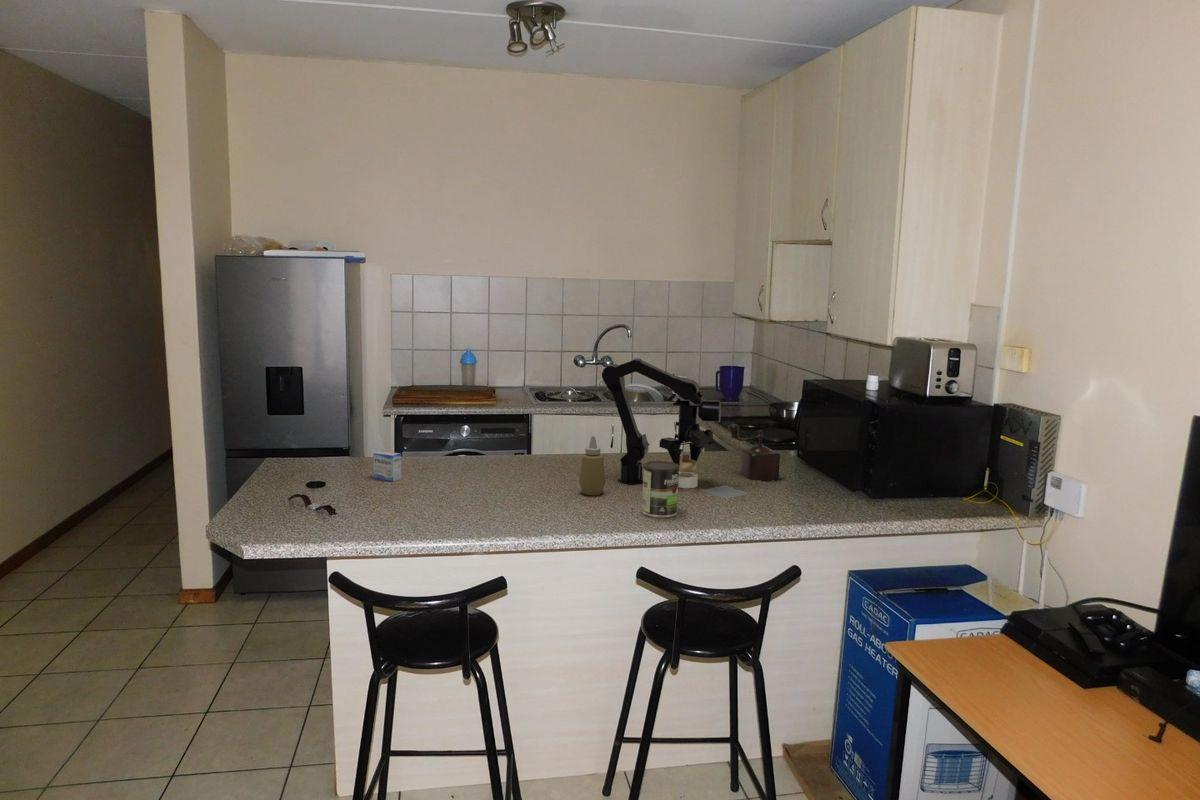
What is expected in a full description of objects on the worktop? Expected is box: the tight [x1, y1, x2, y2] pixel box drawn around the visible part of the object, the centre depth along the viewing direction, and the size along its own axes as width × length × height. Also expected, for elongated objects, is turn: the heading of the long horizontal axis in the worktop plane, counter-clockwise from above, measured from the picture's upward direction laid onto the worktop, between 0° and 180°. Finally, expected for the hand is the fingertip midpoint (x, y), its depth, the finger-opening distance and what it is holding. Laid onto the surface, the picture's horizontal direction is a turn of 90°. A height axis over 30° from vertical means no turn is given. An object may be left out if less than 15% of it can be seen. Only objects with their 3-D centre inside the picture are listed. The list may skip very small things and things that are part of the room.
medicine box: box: [372, 450, 402, 482], centre depth 257 cm, size 8×4×9 cm, turn 68°
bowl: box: [678, 472, 699, 489], centre depth 257 cm, size 8×8×4 cm
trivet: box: [699, 485, 751, 500], centre depth 250 cm, size 11×11×1 cm
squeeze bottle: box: [578, 435, 606, 496], centre depth 245 cm, size 8×8×18 cm
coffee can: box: [641, 460, 679, 519], centre depth 228 cm, size 10×10×14 cm
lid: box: [679, 454, 697, 473], centre depth 256 cm, size 7×7×5 cm
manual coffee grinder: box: [727, 423, 781, 482], centre depth 269 cm, size 16×11×18 cm
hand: (685, 467), depth 256 cm, fingers closed on lid, 7 cm apart
